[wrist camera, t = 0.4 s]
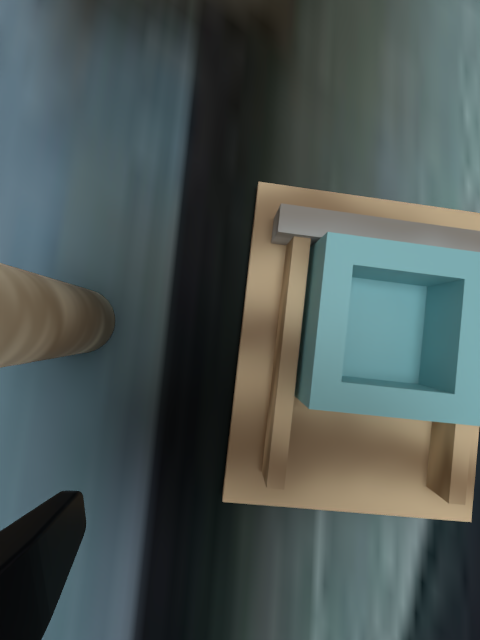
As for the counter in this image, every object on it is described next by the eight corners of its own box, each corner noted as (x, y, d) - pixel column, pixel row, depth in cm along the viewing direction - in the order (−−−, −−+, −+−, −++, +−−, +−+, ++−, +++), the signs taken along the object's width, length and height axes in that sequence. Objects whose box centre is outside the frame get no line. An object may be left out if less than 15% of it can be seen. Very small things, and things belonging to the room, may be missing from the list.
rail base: (461, 514, 21) (504, 547, 18) (222, 495, 20) (222, 526, 17) (487, 219, 22) (533, 201, 19) (257, 187, 21) (264, 161, 18)
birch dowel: (110, 356, 20) (-93, 405, 7) (45, 349, 20) (-290, 387, 7) (118, 293, 20) (-66, 228, 7) (54, 285, 20) (-258, 204, 7)
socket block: (428, 407, 20) (479, 426, 16) (291, 392, 20) (309, 408, 16) (441, 268, 21) (494, 254, 17) (306, 251, 20) (327, 231, 16)
